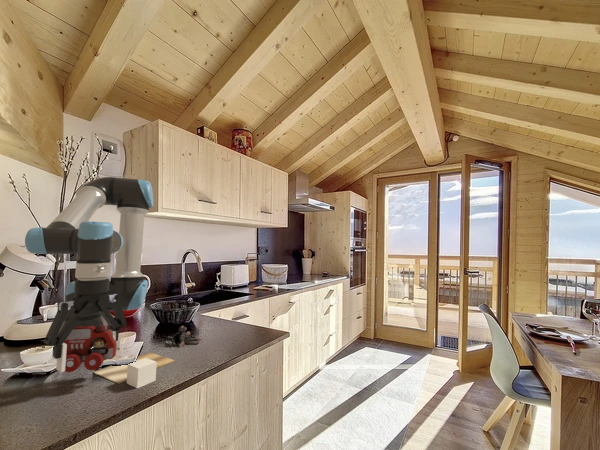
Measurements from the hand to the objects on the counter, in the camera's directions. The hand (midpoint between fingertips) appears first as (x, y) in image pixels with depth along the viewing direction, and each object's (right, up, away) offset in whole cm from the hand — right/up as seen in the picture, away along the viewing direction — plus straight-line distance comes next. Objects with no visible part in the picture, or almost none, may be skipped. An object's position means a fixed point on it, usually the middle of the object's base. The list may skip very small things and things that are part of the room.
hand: (87, 361), depth 73 cm
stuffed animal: (+11, -9, +32) cm, 35 cm away
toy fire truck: (0, -1, 0) cm, 1 cm away
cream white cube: (+14, -6, +1) cm, 15 cm away
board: (+7, -6, +10) cm, 14 cm away
